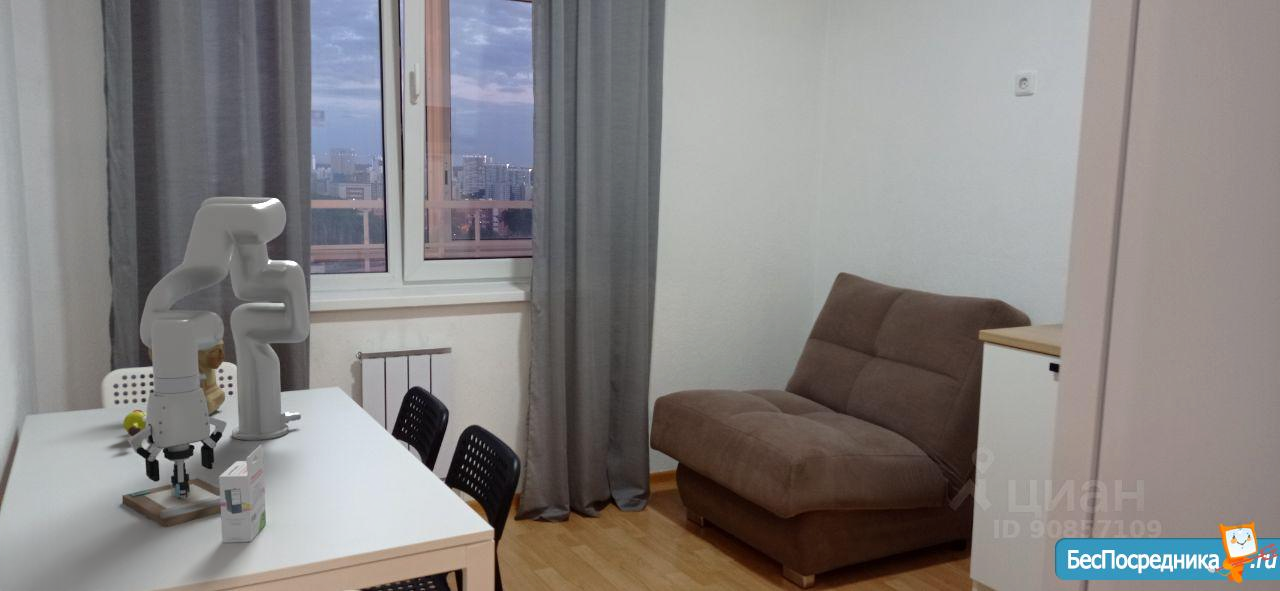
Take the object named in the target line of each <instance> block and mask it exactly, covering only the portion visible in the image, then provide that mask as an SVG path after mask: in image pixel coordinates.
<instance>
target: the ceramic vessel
mask: <svg viewBox="0 0 1280 591" xmlns="http://www.w3.org/2000/svg"><path fill="white" fill-rule="evenodd" d="M223 344H224V341H223V338H222V339H221V341H220V342H219V343H218V344H217V345H216V346H215V347H213V348H211V349H207V350H200V351H198V370H199V373H200V374H205V375H206V380H205V381H202V382H200V386H199V387H201V388H202V389H203V391H204V395H205V398H206V403H207V408H208V414H209V416H210V415H211V414H213V413H215V411H217V410H219V409H220V407H221V406H222V405H223V404H224V402H225V400H226V394H225V392H224V390H223V389H222V388H221V387H219V385H218V384H217V376H216V370H217V369H219V367H220V366H221V365H222V364H223V363H224V362H223V361H224V360H226V354H225V353H224V351H223V350H224V349H223ZM147 353H148V357H149V360H150V361H151V362H152V363H153V361H152V349H151V348H149V347H148V352H147Z"/></svg>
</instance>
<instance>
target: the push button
mask: <svg viewBox="0 0 1280 591" xmlns="http://www.w3.org/2000/svg"><path fill="white" fill-rule="evenodd" d="M194 450H196V449H195V445H193V444H185V445H180V446H175V447H170V448H164V449H162V453H163V456H164V458H165V459H166V460H168V461H170V462H174V464H173V470H172V471H173V475H171V476H170V484H172V485H173V487H171V490H172V489H174V488H175V489H174V492H175V494H176V497H177V499H179V498H181V499H182V498H186V497H187V492H189V493H190V486H189V483H188V481H189V480H190V474H189V473H187V469H186V462H185V461H186V460H189V459H190V458H191V457H193V456H194V454H195V452H194ZM172 496H173V491H172Z"/></svg>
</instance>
